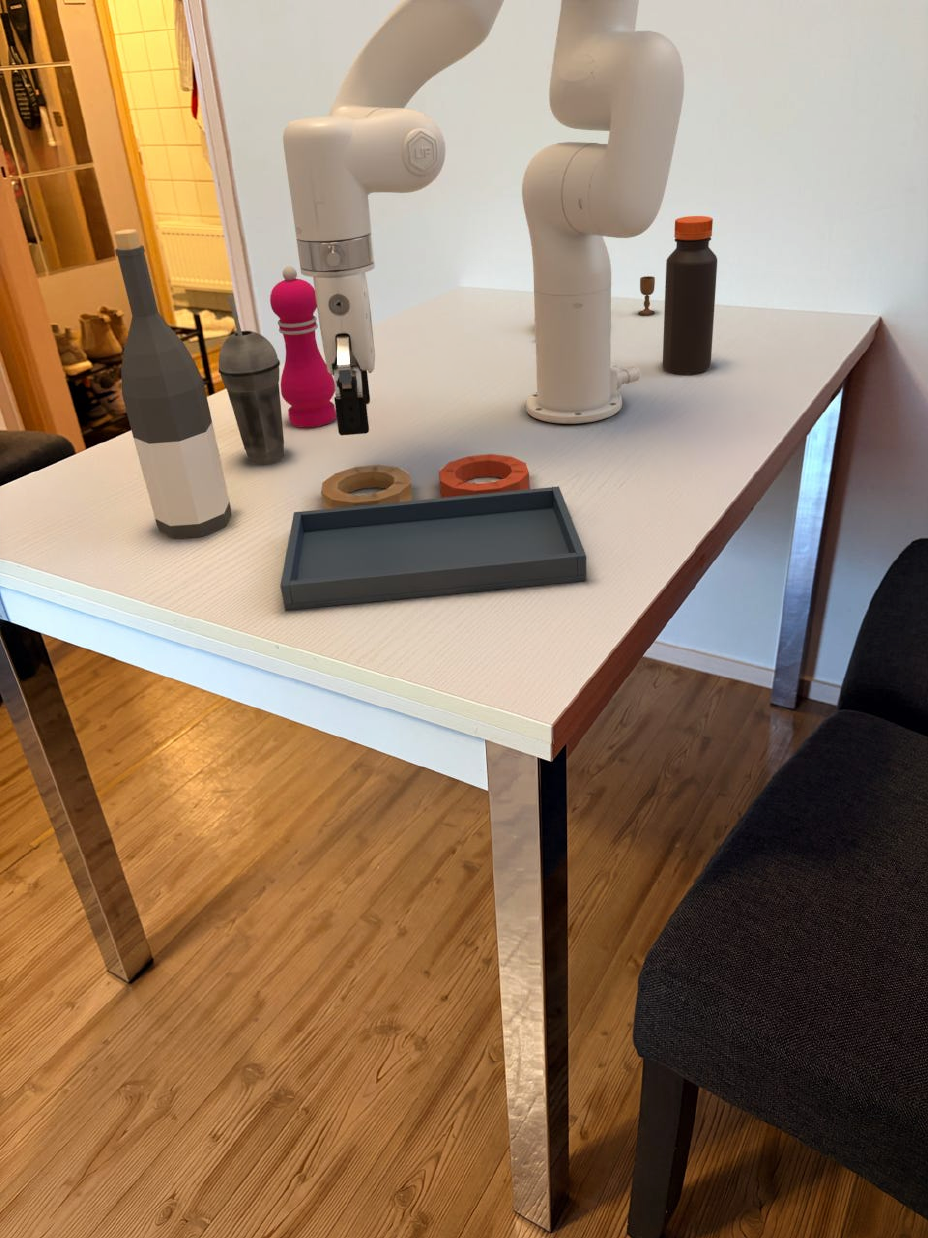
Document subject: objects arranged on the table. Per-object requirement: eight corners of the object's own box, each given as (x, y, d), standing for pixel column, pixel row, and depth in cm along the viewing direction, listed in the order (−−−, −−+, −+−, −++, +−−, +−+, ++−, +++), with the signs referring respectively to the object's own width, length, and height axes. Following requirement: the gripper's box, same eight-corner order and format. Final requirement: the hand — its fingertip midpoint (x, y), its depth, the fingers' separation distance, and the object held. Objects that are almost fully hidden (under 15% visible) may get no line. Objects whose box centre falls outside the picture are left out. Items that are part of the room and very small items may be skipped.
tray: (559, 508, 101) (559, 486, 100) (586, 580, 88) (586, 555, 86) (297, 534, 100) (293, 511, 99) (285, 610, 87) (280, 585, 86)
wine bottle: (163, 546, 100) (83, 243, 84) (153, 517, 106) (76, 231, 91) (240, 528, 103) (175, 230, 87) (225, 500, 109) (162, 219, 93)
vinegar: (695, 357, 141) (703, 212, 131) (719, 370, 136) (730, 219, 125) (653, 365, 140) (658, 218, 129) (676, 378, 134) (683, 226, 123)
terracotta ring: (522, 466, 111) (521, 450, 110) (533, 501, 103) (533, 484, 102) (438, 475, 111) (436, 458, 110) (443, 510, 103) (441, 493, 101)
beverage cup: (306, 448, 121) (278, 285, 111) (278, 470, 115) (246, 301, 105) (255, 445, 123) (224, 285, 113) (226, 467, 118) (190, 300, 107)
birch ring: (410, 477, 111) (409, 461, 110) (413, 513, 102) (411, 496, 101) (326, 485, 111) (323, 469, 109) (321, 522, 102) (319, 505, 101)
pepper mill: (330, 429, 126) (306, 272, 116) (278, 429, 128) (250, 273, 117) (346, 410, 132) (325, 259, 122) (297, 410, 134) (272, 260, 123)
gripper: (372, 268, 89) (389, 443, 98) (374, 237, 104) (388, 391, 113) (292, 274, 89) (316, 448, 98) (305, 242, 104) (325, 396, 113)
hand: (355, 418), depth 105 cm, fingers open, 9 cm apart
